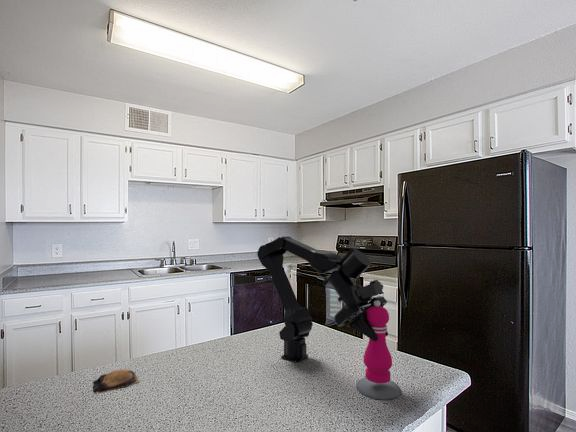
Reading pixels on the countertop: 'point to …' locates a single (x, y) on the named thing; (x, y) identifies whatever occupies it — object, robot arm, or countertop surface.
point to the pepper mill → (378, 346)
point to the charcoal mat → (378, 389)
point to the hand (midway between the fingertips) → (382, 338)
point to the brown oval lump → (115, 380)
